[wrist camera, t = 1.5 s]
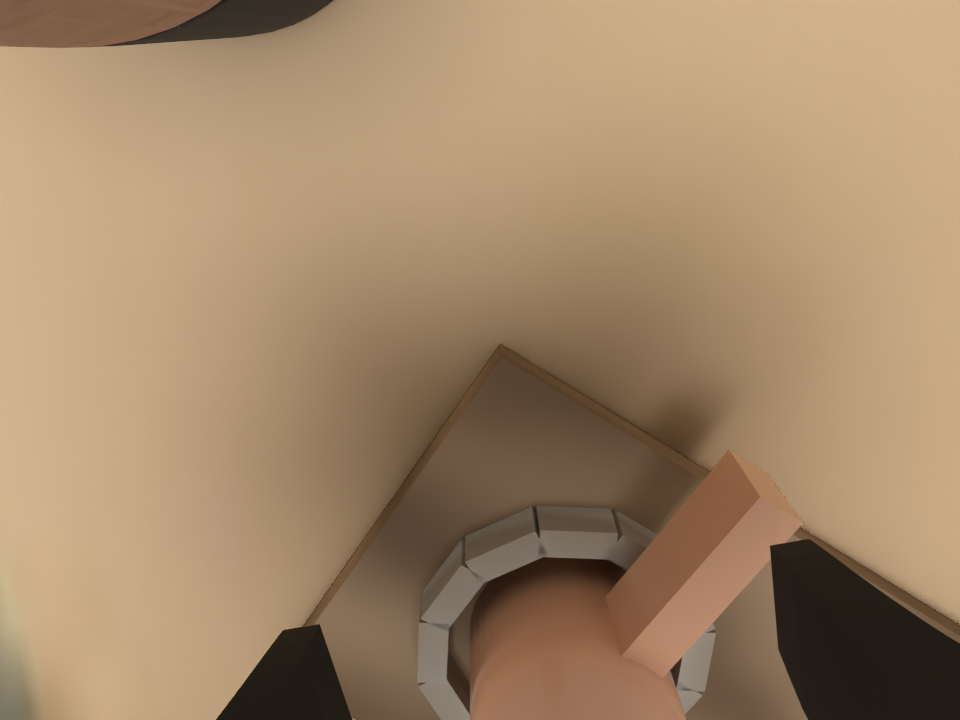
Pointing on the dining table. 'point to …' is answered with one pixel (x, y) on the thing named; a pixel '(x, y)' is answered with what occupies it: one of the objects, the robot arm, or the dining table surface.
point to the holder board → (536, 553)
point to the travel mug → (143, 20)
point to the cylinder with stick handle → (623, 610)
